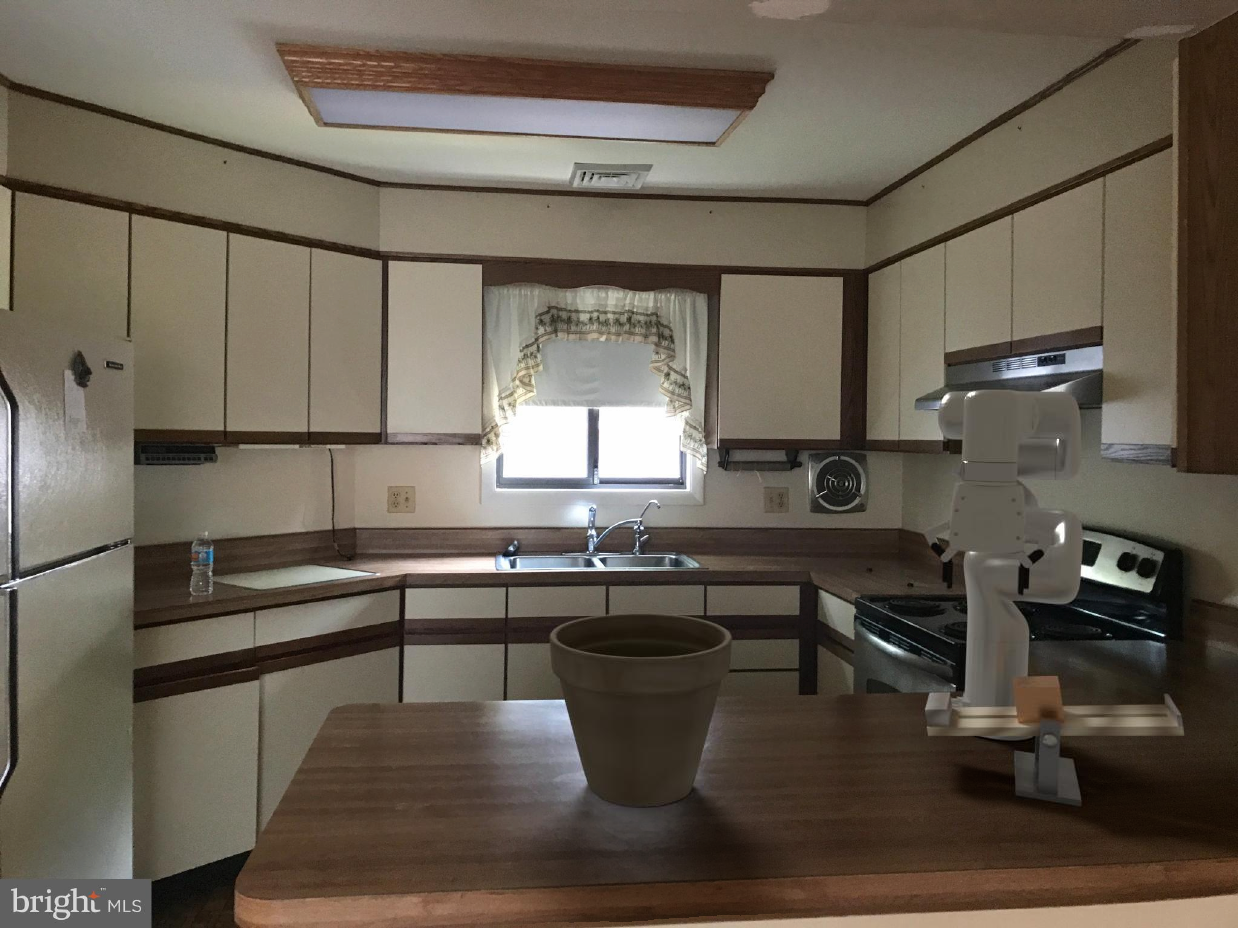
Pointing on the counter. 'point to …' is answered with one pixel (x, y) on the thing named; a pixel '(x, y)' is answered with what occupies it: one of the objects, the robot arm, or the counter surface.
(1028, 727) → the beam
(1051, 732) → the pivot stand
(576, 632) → the plant pot
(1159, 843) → the counter surface
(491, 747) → the counter surface
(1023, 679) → the block
